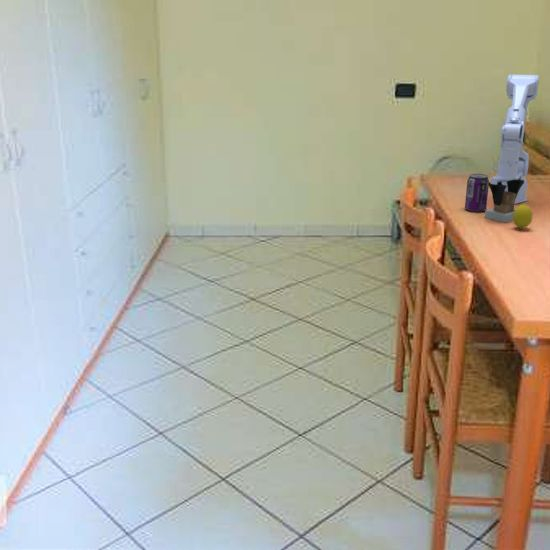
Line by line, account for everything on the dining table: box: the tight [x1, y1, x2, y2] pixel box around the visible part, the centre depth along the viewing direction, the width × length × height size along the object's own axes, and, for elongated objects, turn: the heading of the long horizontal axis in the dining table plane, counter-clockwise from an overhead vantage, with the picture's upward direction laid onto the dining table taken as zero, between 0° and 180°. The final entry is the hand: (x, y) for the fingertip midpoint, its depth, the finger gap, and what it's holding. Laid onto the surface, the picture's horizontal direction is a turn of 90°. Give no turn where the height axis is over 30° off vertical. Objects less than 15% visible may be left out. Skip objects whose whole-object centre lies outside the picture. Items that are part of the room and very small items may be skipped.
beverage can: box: [464, 173, 490, 213], centre depth 230 cm, size 7×7×12 cm
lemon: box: [512, 203, 533, 230], centre depth 209 cm, size 6×6×8 cm
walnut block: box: [493, 191, 516, 214], centre depth 220 cm, size 4×4×6 cm
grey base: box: [484, 207, 515, 224], centre depth 221 cm, size 8×8×2 cm
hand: (504, 203), depth 220 cm, fingers open, 7 cm apart
